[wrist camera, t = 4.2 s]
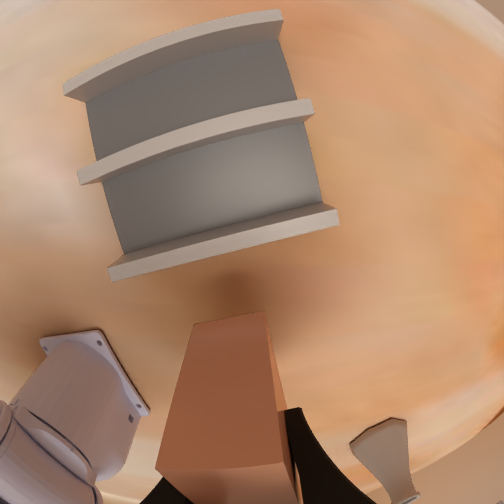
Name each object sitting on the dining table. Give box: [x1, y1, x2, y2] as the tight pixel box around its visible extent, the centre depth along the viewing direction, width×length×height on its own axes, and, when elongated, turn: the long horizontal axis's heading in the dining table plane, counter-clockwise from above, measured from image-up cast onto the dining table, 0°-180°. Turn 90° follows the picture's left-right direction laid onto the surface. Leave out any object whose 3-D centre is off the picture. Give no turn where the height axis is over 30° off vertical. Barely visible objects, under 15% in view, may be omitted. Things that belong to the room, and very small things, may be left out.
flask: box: [350, 419, 420, 504], centre depth 19 cm, size 7×7×10 cm
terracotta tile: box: [155, 311, 303, 504], centre depth 9 cm, size 8×3×7 cm, turn 13°
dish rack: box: [63, 9, 339, 282], centre depth 13 cm, size 12×12×4 cm
